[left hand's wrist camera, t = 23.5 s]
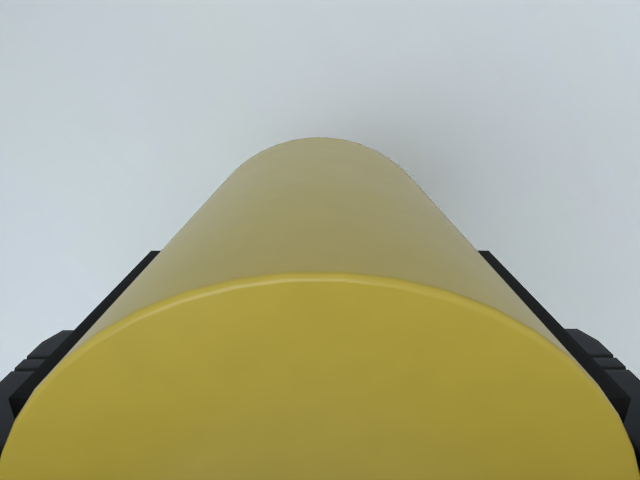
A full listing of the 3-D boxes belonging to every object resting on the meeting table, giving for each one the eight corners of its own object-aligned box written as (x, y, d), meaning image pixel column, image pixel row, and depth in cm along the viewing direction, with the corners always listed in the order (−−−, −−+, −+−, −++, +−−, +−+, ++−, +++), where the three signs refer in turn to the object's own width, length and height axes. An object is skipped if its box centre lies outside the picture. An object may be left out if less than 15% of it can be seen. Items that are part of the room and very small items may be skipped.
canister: (354, 83, 14) (445, 99, 4) (478, 284, 17) (733, 617, 6) (152, 227, 16) (-155, 502, 6) (292, 389, 18) (256, 785, 8)
